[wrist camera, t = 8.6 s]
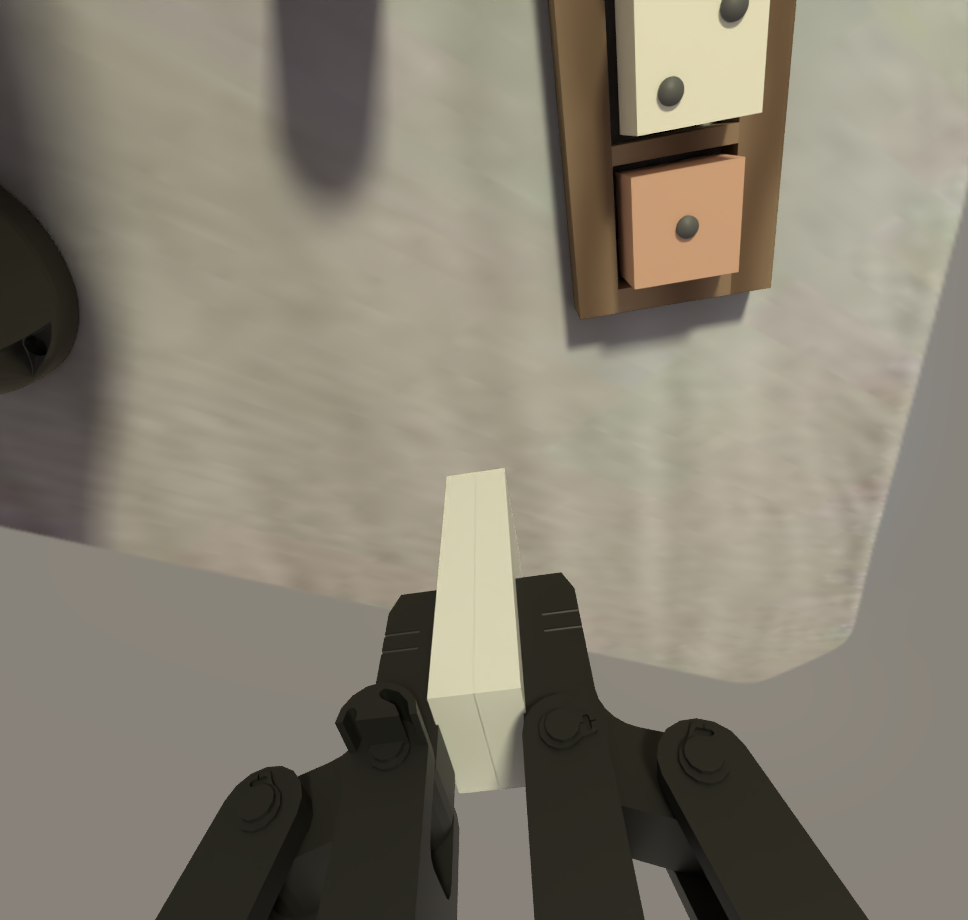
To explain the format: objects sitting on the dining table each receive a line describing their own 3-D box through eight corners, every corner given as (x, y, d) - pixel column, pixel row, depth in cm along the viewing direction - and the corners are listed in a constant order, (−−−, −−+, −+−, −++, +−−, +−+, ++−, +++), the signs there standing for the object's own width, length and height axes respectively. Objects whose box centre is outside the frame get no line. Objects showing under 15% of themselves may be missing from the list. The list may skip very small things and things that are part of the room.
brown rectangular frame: (574, 308, 39) (580, 319, 37) (525, -255, 26) (530, -290, 24) (754, 278, 38) (770, 287, 36) (798, -323, 25) (828, -366, 23)
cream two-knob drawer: (619, 134, 31) (638, 136, 28) (614, -2, 28) (634, -20, 25) (730, 113, 31) (763, 112, 27) (737, -28, 28) (775, -50, 24)
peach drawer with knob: (620, 274, 37) (635, 290, 33) (615, 172, 34) (631, 178, 30) (714, 257, 36) (739, 272, 33) (717, 153, 33) (746, 156, 30)
